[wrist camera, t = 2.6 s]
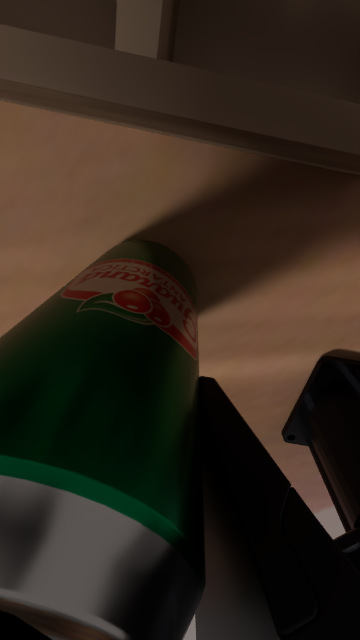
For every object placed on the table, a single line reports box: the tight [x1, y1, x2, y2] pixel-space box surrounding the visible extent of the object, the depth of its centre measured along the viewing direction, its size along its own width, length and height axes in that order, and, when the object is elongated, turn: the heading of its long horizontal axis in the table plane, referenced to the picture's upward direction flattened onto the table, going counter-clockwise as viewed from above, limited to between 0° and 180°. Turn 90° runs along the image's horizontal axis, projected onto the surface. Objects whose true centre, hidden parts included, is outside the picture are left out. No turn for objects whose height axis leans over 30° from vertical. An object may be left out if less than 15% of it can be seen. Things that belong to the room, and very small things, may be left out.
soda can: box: [0, 240, 206, 640], centre depth 8 cm, size 5×5×12 cm
